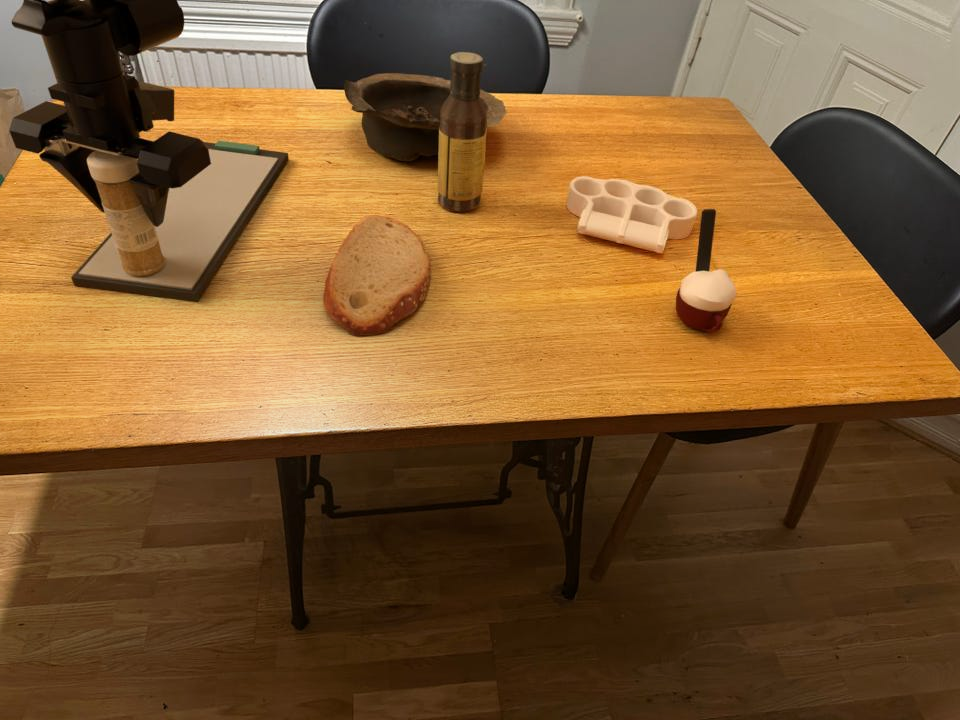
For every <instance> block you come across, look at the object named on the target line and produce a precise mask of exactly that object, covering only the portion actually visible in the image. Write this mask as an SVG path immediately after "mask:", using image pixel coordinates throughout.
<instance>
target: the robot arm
mask: <svg viewBox="0 0 960 720" xmlns="http://www.w3.org/2000/svg"><path fill="white" fill-rule="evenodd" d="M11 25H12V27H13V28H14V29H18V30H22V31H26V32H28V33H32V34H36V35H40V36H41V38H42V41H43V44H44V47H45V50H46V53H47V56H48V59H49V63H50V66H51V68H52V71H53V72H52V73H53V74H54V78H55V80H56V83H55V84H52V85H50V86H48V87H47V91H48V93H49V96H50V100H55V101H59V102H63V104H59V103H56V102H51V101H47V100H46V101H44V102H41V103H40V104H38V105H35V106H33V107H31V108H30V109H28V110H25V111H24V112H22V113H20V114H18V115H16V116H14V117H12V118H11V119H12V120H11V122H10V125H9V129H8V131H9V134H10V137H11V139H12V143H13V144H14V147H15V149H18V150H22V151H26V152H30V153H33V154H37V155H38V154H39V155H38V156H39V159H40V160H41V161H42V162H45V163H47V164H49V166H51V167H52V168H53V169H54V170H55V171H57V172H58V173H59V174H60V175H61V176H63V178H65V180H67V181H68V182H69V183H71V184H72V186H74V187H75V188H76V189H77V190H78V191H79V192H80V193H81V194H82V195H83V196H84V197H85V198H86V199H87V200H88V201H89V202H90V203H92V205H94V207H96V208H97V209H98V210H99V211H100V212H101V213H103V214H105V212H104V209H103V206H102V200H101V198H100V195H99V192H98V188H97V186H96V182H95V181H94V180H93V178H92V176H91V174H90V171H89V168H88V164H87V158H88V156H89V155H90V154H91V153H92V152H94V151H100V152H104V153H108V154H112V155H116V156H121V155H123V156H127V157H131V158H135V159H137V160H138V161H137V166H138V170H139V173H138V174H136V175H135V176H133V177H132V178H130V179H129V180H128V181H129V183H130V185H131V187H132V189H133V190H134V192H135V194H136V196H137V198H138V200H139V201H140V203H141V205H142V207H143V209H144V211H145V213H146V214H147V216H148V218H149V219H150V221H151V222H152V224H153V225H154V226H156V227H158V226H160V225H161V224H162V223H163V221H164V215H165V210H166V204H167V198H168V192H169V188H172V189H173V188H179V187H182V186H183V185H184V184H186V183H187V182H188V181H190V180H191V179H192V178H193V177H195V176H196V175H197V174H199V173H200V172H201V171H203V170H204V169H205V168H207V167H208V166H209V165H210V164H211V161H210V155H209V150H208V147H207V144H206V143H205V142H206V141H203V140H202V139H200V138H198V137H194V136H190V135H185V134H181V133H177V132H174V131H167V132H166V133H165V134H163V135H161V136H160V137H158V138H157V139H155V140H149V139H145V138H142V137H141V134H140V133H142V132H145V133H147V132H149V131H151V130H152V129H153V128H155V126H154V121H167V122H174V121H175V89H174V88H170V87H167V86H162V85H158V84H154V83H149V82H145V81H139V80H138V79H137V78H136V76H135V75H130V74H128V72H127V70H124V68H123V67H124V66H123V64H122V60H121V56H120V54H123V55H125V56H127V57H128V56H129V57H134V56H137V55H140V54H142V53H144V52H146V51H148V50H152V49H154V48H156V47H158V46H161V45H163V44H166V43H168V42H170V41H173V40H175V39H177V38H179V37H180V36H181V35H182V33H183V31H184V28H185V14H184V10H183V8H182V7H181V6H180V4H179V2H178V0H48V1H47V0H23V2H22V5H21V6H20V8H19V9H18V10H17V11H16V12H15V13H14V15H13V18H12V19H11Z"/></svg>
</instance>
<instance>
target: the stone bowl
mask: <svg viewBox="0 0 960 720" xmlns="http://www.w3.org/2000/svg"><path fill="white" fill-rule="evenodd" d="M450 86H451V79H450V80H449V79H445V78H444V77H437V76H434V75H424V74H411V73H408V74H407V73H400V72H389V73H388V72H387V73H386V72H385V73H375V74H373V75H370V76H368V77H364V78H361V79H359V80H356V81H355V82H354V81H350V80H348V79H347V78H346V79H345V80H344V85H343V90H344V96H345V98H346V100H347V102H348V103H349V104H350V105H351V108H350V110H351V111H353V112H356V113H359V114H360V113H361V115H362V117H361V129H362V131H363V133H364V136H365V139H366V144H367V146H368V147H369V148H370V149H372V150H373V151H376V153H377V154H380V155H381V156H383V157H384V158H387V159H388V158H393V159H394V160H396V161H401V162H409V161H414V160H416V159H418V158H419V157H420V155H421V156H425V157H432V156H436V155H438V154H439V127H440V112H441V108H442V106H443V104H444V103H445V101H446V100H447V98H448V97H449V95H450ZM479 97H480V99H481V101H482V102H483V104H484V106H485V109H486V112H487V128H490V127H496V126H498V125H499V124H500V123H501V121H503V119H504V116H505V115H506V114H507V113H508V112H507V111H508V110H507V109H506V105H504V104H505V103H504V101H503V100H501V99H499V98H497V97H496V96H495V95H493V94H491V93H489V92H487V91H485V90H483V89H480V96H479Z"/></svg>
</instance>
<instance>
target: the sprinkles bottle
mask: <svg viewBox="0 0 960 720" xmlns="http://www.w3.org/2000/svg"><path fill="white" fill-rule="evenodd" d="M137 161H138V159H135V158H131V157H127V156H123V155H121V156H116V155H112V154H108V153H104V152H100V151H94V152H92V153H91V154H90V155H89V156H88V158H87V164H88V168H89V171H90V174H91V176H92V178H93V180H94V181H95V182H96V186H97V188H98V192H99V195H100V198H101V200H102V206H103V209H104V212H105V213H104V212H103V213H104V214H105V218H106V221H107V224H108V226H109V230H110V233H112V236H113V239H114V242H115V245H116V246H117V249H118V252H119V255H120V258H121V261H122V268H123V270H124V271H125V272H126V273H128V274H130V275H134V276H144V275H150V274H153V273H155V272H157V271H159V270H160V269H161V268H162V267H163V266H164V264H165V258H164V256H163V255H162V252H161V248H160V245H159V241H158V236H157V233H156V229H155V226H154V225H153V224H152V222H151V221H150V219H149V218H148V216H147V214H146V213H145V211H144V209H143V207H142V205H141V203H140V201H139V200H138V198H137V196H136V194H135V192H134V190H133V189H132V187H131V185H130V183H129V181H128V180H129V179H130V178H132V177H133V176H135V175H136V174H138V173H139V170H138V166H137Z"/></svg>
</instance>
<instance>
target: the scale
mask: <svg viewBox="0 0 960 720" xmlns="http://www.w3.org/2000/svg"><path fill="white" fill-rule="evenodd" d="M204 142H205V143H206V144H207V147H208V150H209V155H210V161H211V164H210V165H209V166H208V167H207V168H205V169H204V170H203V171H201V172H200V173H199V174H197V175H196V176H195V177H193V178H192V179H191V180H190V181H188V182H187V183H186V184H184V185H183V186H182V187H179V188H173V189H172V188H169V192H168V198H167V204H166V210H165V215H164V221H163V223H162V224H161V225H160V226H158V227H156V226H155V229H156V233H157V236H158V241H159V245H160V248H161V252H162V255H163V256H164V258H165V264H164V266H163V267H162V268H161V269H160V270H159V271H157V272H155V273H153V274H150V275H144V276H134V275H130V274H128V273H126V272H125V271H124V270H123V268H122V261H121V258H120V255H119V252H118V249H117V246H116V245H115V242H114V239H113V236H112V233H111V232H110V233H109V234H108V235H107V236H106V238H104V240H103V241H102V242H101V243H100V244H99V245H98V246H97V247H96V249H95V250H94V251H92V253H91V255H89V256H88V257H87V259H86V260H85V261H84V262H83V263H82V265H80V267H79V268H78V269H77V270H76V271H75V272H74V274H72V275H71V281H72V284H73V286H75V287H82V288H89V289H96V290H97V289H98V290H104V291H112V292H119V293H121V292H122V293H126V294H136V295H141V296H149V297H150V296H151V297H158V298H164V299H165V298H166V299H171V300H172V299H174V300H180V301H186V302H187V301H188V302H195V303H198V302H200V300H201V299H202V297H203V295H204V294H205V292H206V290H207V288H209V286H210V284H211V283H212V281H213V279H215V276H216V275H217V274H218V272H219V270H220V269H221V267H222V265H223V264H224V262H225V261H226V259H227V258H228V257H229V255H230V253H231V252H232V250H233V248H235V245H236V244H237V242H238V240H239V239H240V237H241V236H242V234H243V233H244V231H245V230H246V228H247V227H248V225H249V223H250V222H251V220H252V219H253V217H254V216H255V214H256V213H257V211H258V209H259V208H260V206H261V204H262V203H263V202H264V200H265V198H266V196H267V195H268V193H269V192H270V190H271V189H272V187H273V185H274V184H275V183H276V181H277V179H278V178H279V177H280V175H281V174H282V172H283V170H284V169H285V167H286V165H288V162H289V153H288V152H285V151H277V150H269V149H260V145H257V144H249V143H241V142H233V141H225V140H217V141H216V142H207V141H204Z"/></svg>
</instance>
